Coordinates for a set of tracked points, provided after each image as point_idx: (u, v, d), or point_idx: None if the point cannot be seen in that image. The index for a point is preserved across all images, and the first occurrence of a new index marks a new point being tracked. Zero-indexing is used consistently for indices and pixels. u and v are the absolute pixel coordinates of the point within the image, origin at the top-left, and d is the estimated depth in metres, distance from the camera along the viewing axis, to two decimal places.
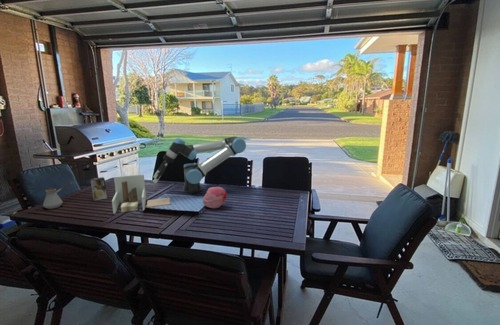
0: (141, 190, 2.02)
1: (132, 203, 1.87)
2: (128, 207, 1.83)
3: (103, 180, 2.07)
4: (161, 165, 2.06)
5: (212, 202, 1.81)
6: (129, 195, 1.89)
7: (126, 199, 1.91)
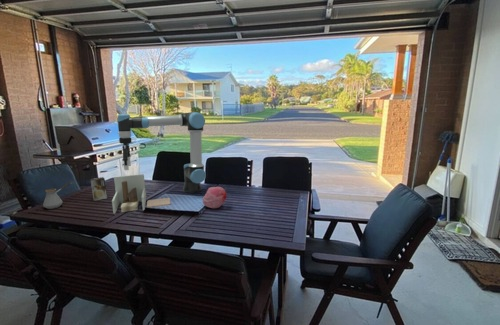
0: (141, 190, 2.02)
1: (132, 203, 1.87)
2: (128, 207, 1.83)
3: (103, 180, 2.07)
4: None
5: (212, 202, 1.81)
6: (129, 195, 1.89)
7: (126, 199, 1.91)
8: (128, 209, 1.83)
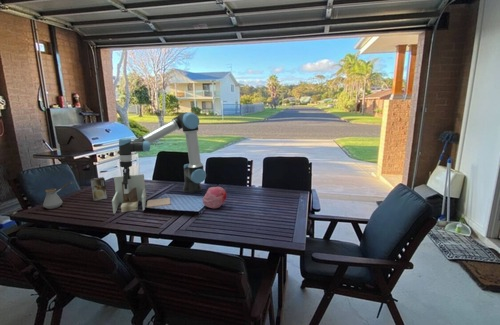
0: (141, 190, 2.02)
1: (132, 203, 1.87)
2: (128, 207, 1.83)
3: (103, 180, 2.07)
4: None
5: (212, 202, 1.81)
6: (129, 195, 1.89)
7: (126, 199, 1.91)
8: (128, 209, 1.83)
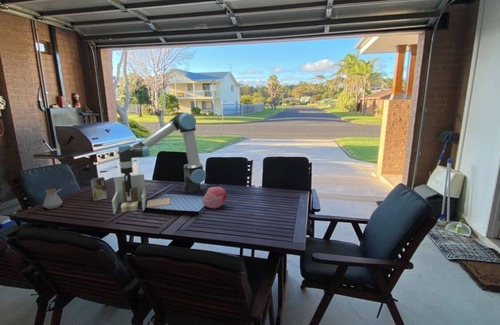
0: (141, 190, 2.02)
1: (132, 203, 1.87)
2: (128, 207, 1.83)
3: (103, 180, 2.07)
4: None
5: (212, 202, 1.81)
6: None
7: (126, 199, 1.92)
8: (128, 209, 1.83)
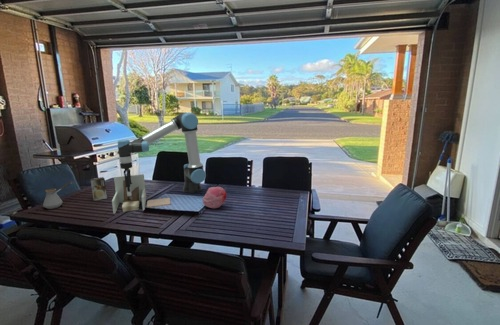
0: (141, 190, 2.02)
1: (133, 202, 1.87)
2: (129, 207, 1.83)
3: (103, 180, 2.07)
4: None
5: (212, 202, 1.81)
6: None
7: (127, 198, 1.91)
8: (129, 209, 1.84)
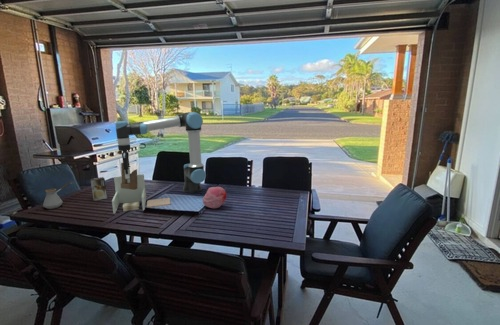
0: (141, 190, 2.02)
1: (133, 203, 1.89)
2: (130, 206, 1.85)
3: (103, 180, 2.07)
4: None
5: (212, 202, 1.81)
6: None
7: (125, 181, 1.89)
8: (130, 209, 1.85)
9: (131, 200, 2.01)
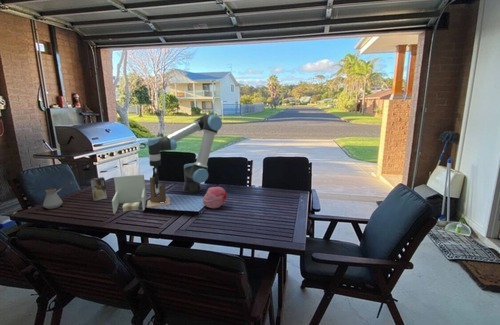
0: (141, 190, 2.02)
1: (134, 203, 1.89)
2: (130, 207, 1.84)
3: (103, 180, 2.07)
4: None
5: (212, 202, 1.81)
6: None
7: (154, 195, 1.97)
8: (130, 209, 1.85)
9: (131, 200, 2.01)
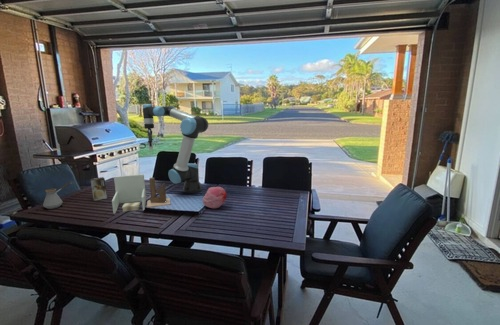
0: (141, 190, 2.02)
1: (134, 203, 1.88)
2: (129, 207, 1.84)
3: (103, 180, 2.07)
4: None
5: (212, 202, 1.81)
6: (159, 191, 1.95)
7: (154, 195, 1.97)
8: (129, 209, 1.84)
9: (131, 200, 2.01)
